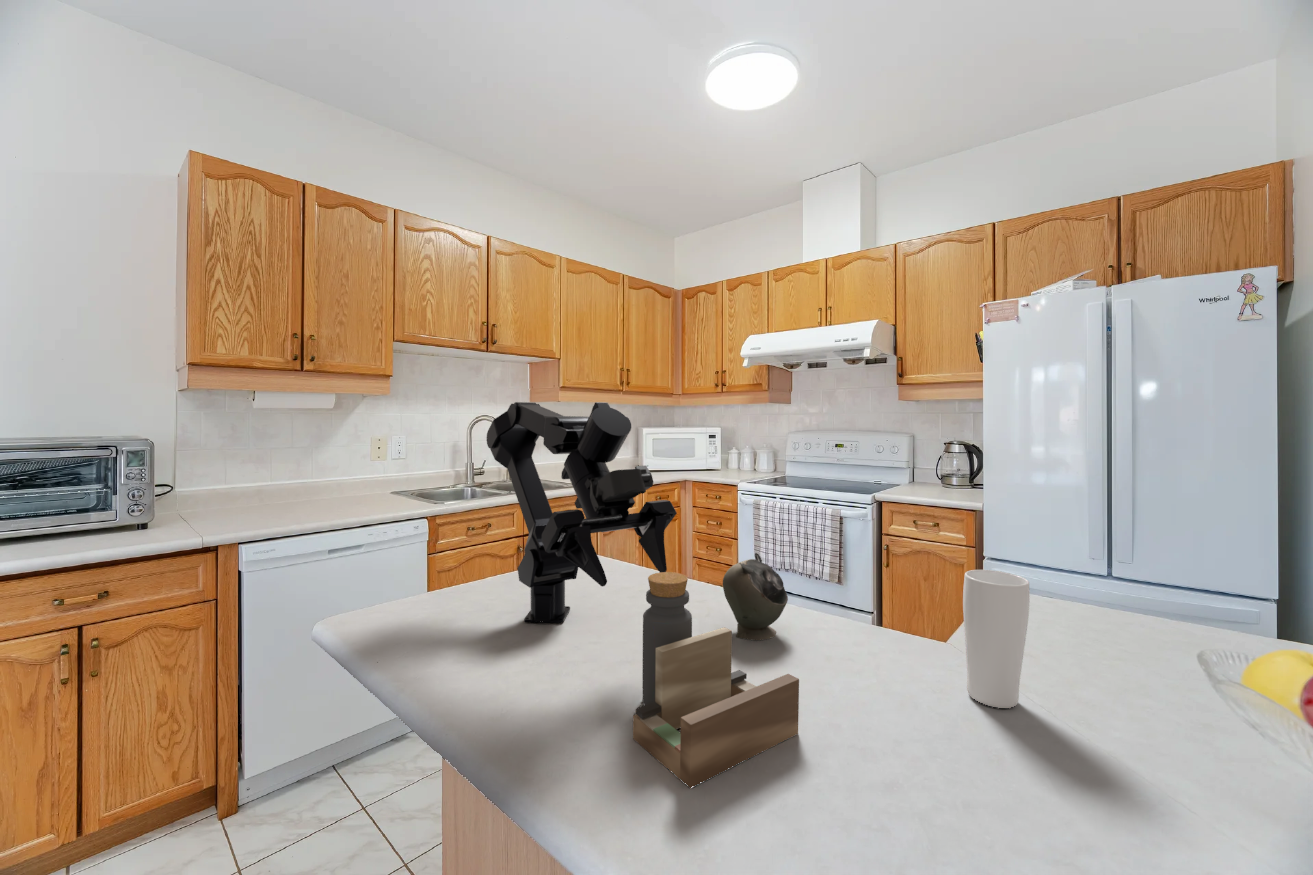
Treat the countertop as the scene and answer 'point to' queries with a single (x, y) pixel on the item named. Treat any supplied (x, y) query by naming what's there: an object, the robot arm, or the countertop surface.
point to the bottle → (663, 622)
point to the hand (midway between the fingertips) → (635, 578)
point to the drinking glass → (995, 635)
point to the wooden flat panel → (692, 676)
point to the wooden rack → (723, 730)
